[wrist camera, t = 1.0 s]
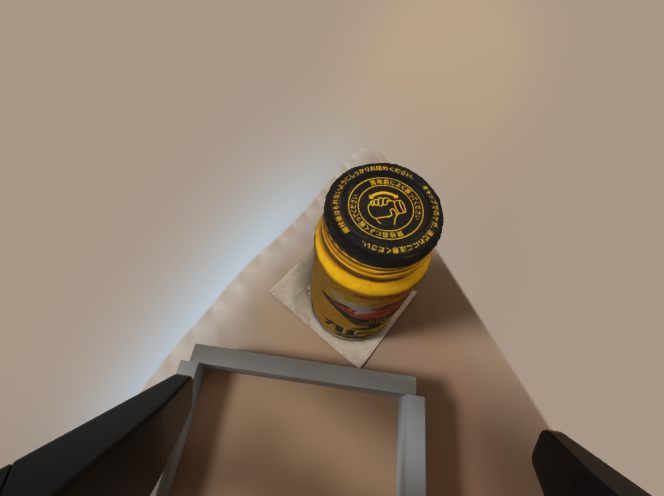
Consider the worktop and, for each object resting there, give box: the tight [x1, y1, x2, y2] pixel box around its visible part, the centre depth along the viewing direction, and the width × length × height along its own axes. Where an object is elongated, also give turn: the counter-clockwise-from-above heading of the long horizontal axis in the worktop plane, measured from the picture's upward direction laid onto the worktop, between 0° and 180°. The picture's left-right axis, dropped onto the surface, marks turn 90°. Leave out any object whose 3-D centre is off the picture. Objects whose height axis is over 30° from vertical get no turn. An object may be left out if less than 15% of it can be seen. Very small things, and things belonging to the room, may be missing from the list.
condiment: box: [269, 163, 443, 368], centre depth 19 cm, size 7×8×12 cm
